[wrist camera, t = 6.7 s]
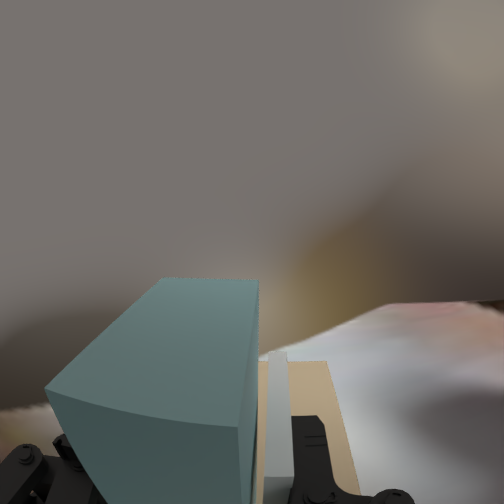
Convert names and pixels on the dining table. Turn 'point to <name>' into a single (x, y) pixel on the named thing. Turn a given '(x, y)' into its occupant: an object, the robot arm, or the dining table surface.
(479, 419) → the dining table surface
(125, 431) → the carton lid
